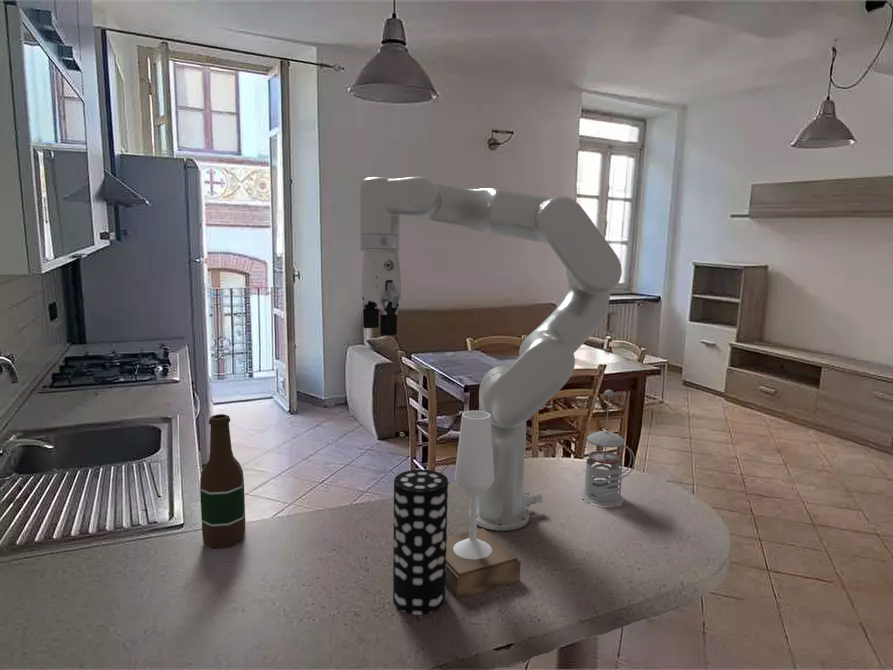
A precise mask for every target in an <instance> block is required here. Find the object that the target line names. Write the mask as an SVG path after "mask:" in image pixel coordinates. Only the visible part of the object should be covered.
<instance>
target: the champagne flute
mask: <svg viewBox="0 0 893 670" xmlns="http://www.w3.org/2000/svg"><path fill="white" fill-rule="evenodd" d="M460 421H461V422H460V428H459V429H460V430H459V436H458V437H459V438H458V444H457V445H458V446H457V453H456V454H457V455H456V463H455V471H454V480H455V482H456V484H457V486H458V488H460V489H461V490H462V491H463V492H464V493H465V494H466V495H467V496H469V497H470V499H469V500H470V505H469V508H470V518H469V532H470V538H468V539H465V540H462V541H459V542H458V543H456V544H455V545H454V547H453V550H454V552H455V553H456V554H457V555H458V556H460V557H462V558H466V559H482V558H485V557H487V556H489V555H490V554H491V552H492V548H491V546H490V545H489V544H487V543H486V542H484V541H481V540H479V539H477V538H476V530H478V529H477V527H478V525H477V497H478V496H480V495H482V494H483V493H484V492H486V491H487V490H488V489H489V488H490V487H491V485H492V484H493V482H494V463H493V448H492V432H491V416H490V414H489V413H487V412H483V411H479V410H466V411H463V412H462V414H461V419H460Z"/></svg>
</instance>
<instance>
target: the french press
mask: <svg viewBox="0 0 893 670" xmlns="http://www.w3.org/2000/svg"><path fill="white" fill-rule="evenodd" d="M604 396H607V399H608V400H607V411H606V412H607V413H606V427H605V430H598V431H595V432H592V433H590V434H588V435H587V436H586V438H587V441H588V442H589V443H590V444H591V445H594V446H597V447H604V450H594V451H593V450H592V451H591V452H588V454H587V456H588V458H587V460H586V461H585V462H586V463H585V479H584V489H583V490H582V491H581V492H582V494H581V495H582V497H583V498H584V499H585V500H586V501H589V502H591V503H594V504H598V505H601V506H617V507H619V506H618V505H620V504H622V503H623V501H624V502H625V499H624V497H623V495H622V494H621V492H622V479H624V478H625V477H627V476H629V475H630V474H631V473H632V471H633V469H634V467H635V461H636V457H635V454H634V451H632V449H631V448H630V447H629V446H628V445H626V444H624V443H625V442H626V440H625V439H624V438H623V437H622V436H620V435H619V434H617V433H615V432H612V431H609V430H608V422H609V421H608V419H609V406H610V405H609V404H610V397H613V396H614V392H613V390H612V389H606V390H605V391H604ZM606 448H619V451H621V453H622V452H624V451H625V448H626V449H627V450H628V451H629V455H630V456H629V458H630V460H629V464H628V466H627V468H626V469H625V470H624V471H623V464H622V463H620V462H621V460H622V457H621V456H620V455H619V454H617V453H615V452H611V451H606ZM632 459H633V462H632ZM596 463H598V464H596ZM631 464H632V466H631ZM593 465H594V466H593ZM630 466H631V469H630V471H629V472H628V473H627V474H625V473H626V472H627V471H628V470H629V468H630ZM601 467H603V468H604V469H603V468H601ZM623 474H624V475H623ZM622 475H623V476H622ZM623 504H624V503H623ZM623 504H622V505H623ZM620 506H621V505H620Z"/></svg>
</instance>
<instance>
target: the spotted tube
mask: <svg viewBox="0 0 893 670" xmlns="http://www.w3.org/2000/svg"><path fill="white" fill-rule="evenodd" d="M448 493H449V479H448V477H447V475H445V474H443V473H441V472H439V471H436V470H432V469H431V470H430V469H409V470H406V471H403V472H401V473H399V474H397V475H395V477H394V480H393V556H392V557H393V565H392V566H393V569H392V570H393V571H392V572H393V573H392V575H393V576H392V577H393V579H392V581H393V582H392V583H393V585H392V586H393V587H392V600H393V604H394V606H395V608H396V609H398V610H399V611H401V612H403V613H406V614H409V615H415V616H424V615H428V614H432V613H436V612H437V611H439V610H440V609H441V608H442V607H443V606H444V604H445V603H446V587H447V586H446V547H447V537H448V499H449V498H448V495H449V494H448Z"/></svg>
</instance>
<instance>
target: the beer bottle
mask: <svg viewBox="0 0 893 670" xmlns="http://www.w3.org/2000/svg"><path fill="white" fill-rule="evenodd" d="M230 422H231V417H230V415H227V414H224V413H219V414H214V415H211V416H210V418H209V419H208V424H209V426H210V431H209V432H210V435H209V437H210V439H209V440H210V441H209V447H210V448H209V457H208V461H207V462H206V463H205V466H204V468H203V469H202V473H201V475H200V479H199V482H200V483H199V493H200V496H199V497H200V513H201V517H200V518H201V533H202V534H201V535H202V542H203V544H204V545H205V546H207V547H210V548H211V549H215V550H216V549H226V548H231V547H233V546H235V545H238V544H239V543H242V542H243V540H244V537H245V533H246V505H245V504H246V502H245V500H246V499H245V478H244V470H243V468H242V466H241V464H240V462H239V461H238V460H237V459H236V457H234V452H233V450H232V441H231V431H230V430H231V429H230Z"/></svg>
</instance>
